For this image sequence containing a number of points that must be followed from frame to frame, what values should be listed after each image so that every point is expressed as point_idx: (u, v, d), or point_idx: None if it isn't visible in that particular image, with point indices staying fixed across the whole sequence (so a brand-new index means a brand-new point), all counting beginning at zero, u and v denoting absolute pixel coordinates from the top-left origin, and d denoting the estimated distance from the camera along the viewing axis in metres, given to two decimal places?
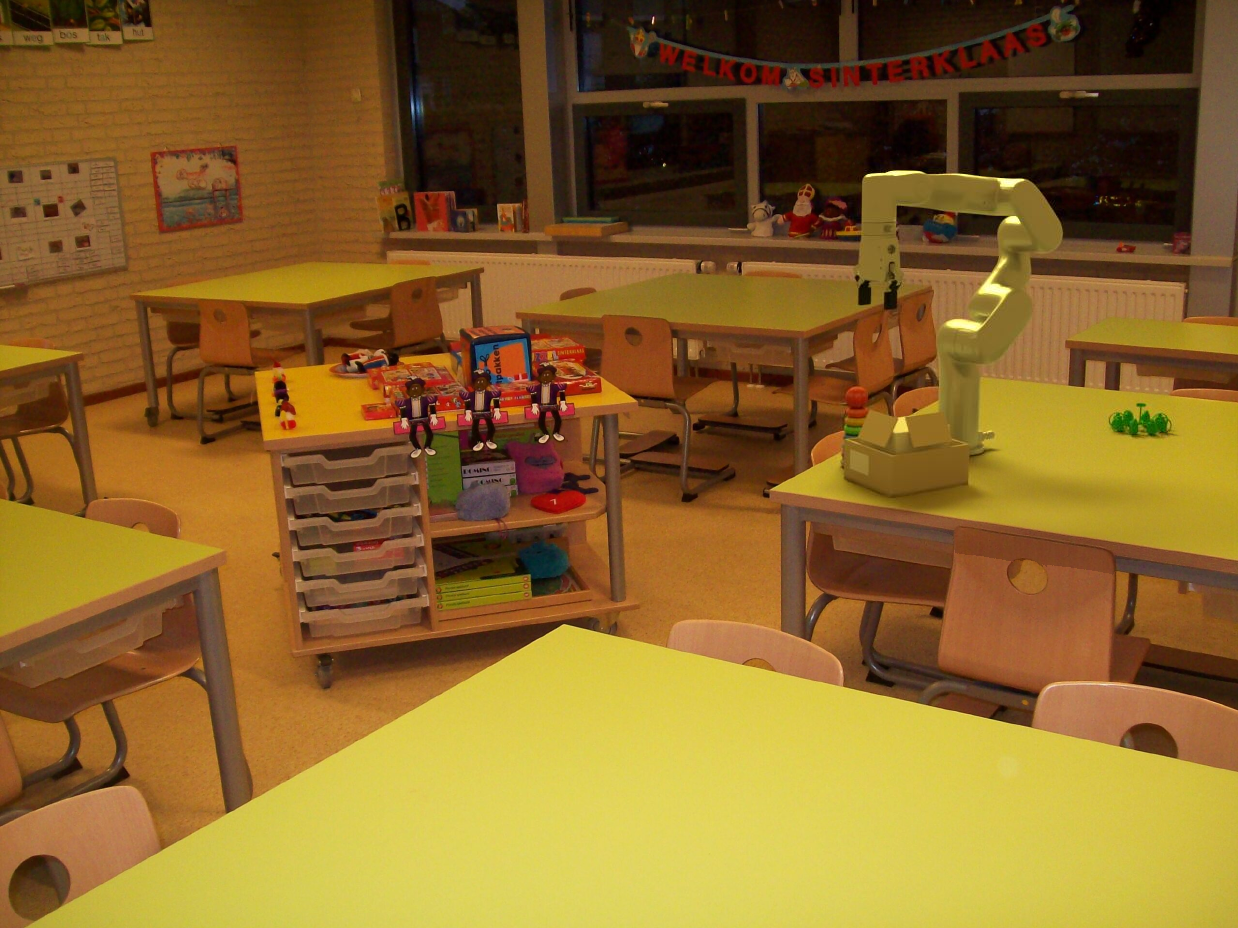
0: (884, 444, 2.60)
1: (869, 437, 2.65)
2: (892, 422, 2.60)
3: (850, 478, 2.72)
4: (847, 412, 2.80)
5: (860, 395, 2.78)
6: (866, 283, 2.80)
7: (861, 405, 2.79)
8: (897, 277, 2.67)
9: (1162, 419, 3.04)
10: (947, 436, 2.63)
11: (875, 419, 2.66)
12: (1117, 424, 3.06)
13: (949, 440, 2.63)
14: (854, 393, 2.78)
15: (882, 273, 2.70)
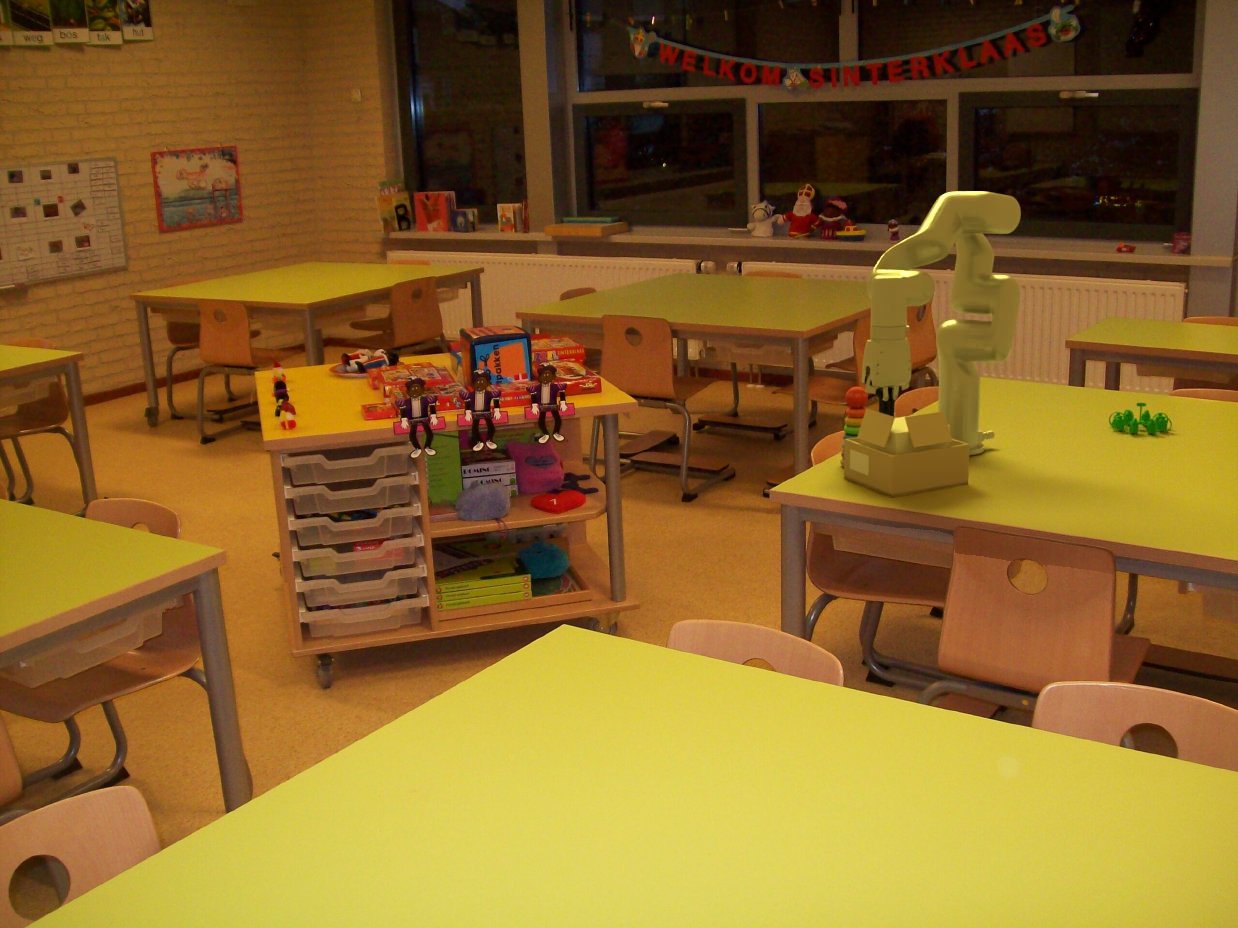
0: (883, 444, 2.60)
1: (868, 437, 2.65)
2: (889, 421, 2.60)
3: (850, 478, 2.72)
4: (847, 412, 2.80)
5: (860, 395, 2.78)
6: None
7: (861, 405, 2.79)
8: (904, 387, 2.64)
9: (1162, 419, 3.04)
10: (947, 436, 2.63)
11: (872, 418, 2.65)
12: (1117, 424, 3.07)
13: (949, 440, 2.63)
14: (854, 393, 2.78)
15: (910, 374, 2.62)
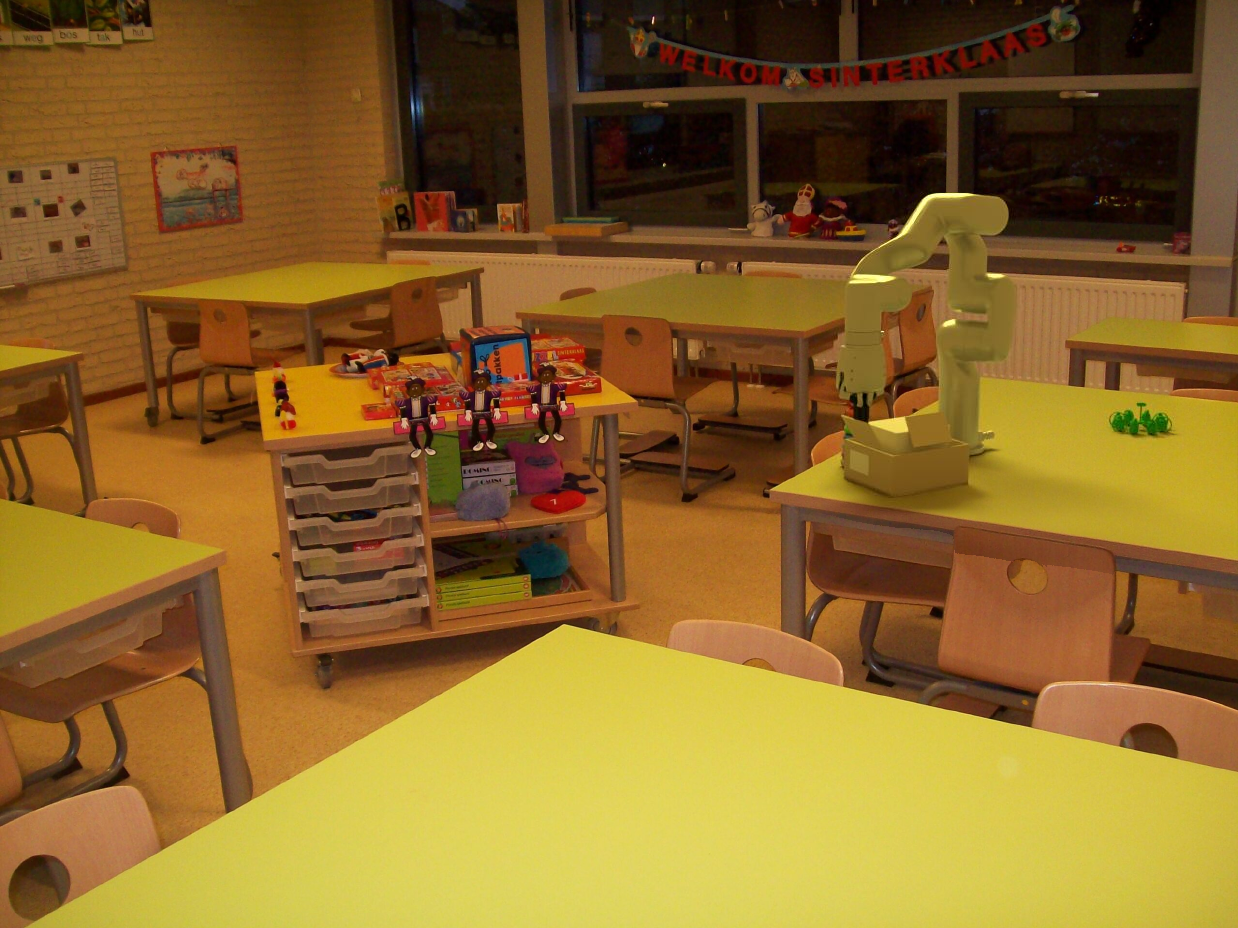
0: (879, 446, 2.60)
1: (863, 439, 2.65)
2: (867, 428, 2.58)
3: (850, 478, 2.72)
4: (847, 412, 2.80)
5: None
6: None
7: None
8: (879, 393, 2.62)
9: (1162, 419, 3.04)
10: (947, 436, 2.63)
11: (852, 424, 2.64)
12: (1117, 424, 3.07)
13: (949, 440, 2.63)
14: None
15: (885, 380, 2.60)
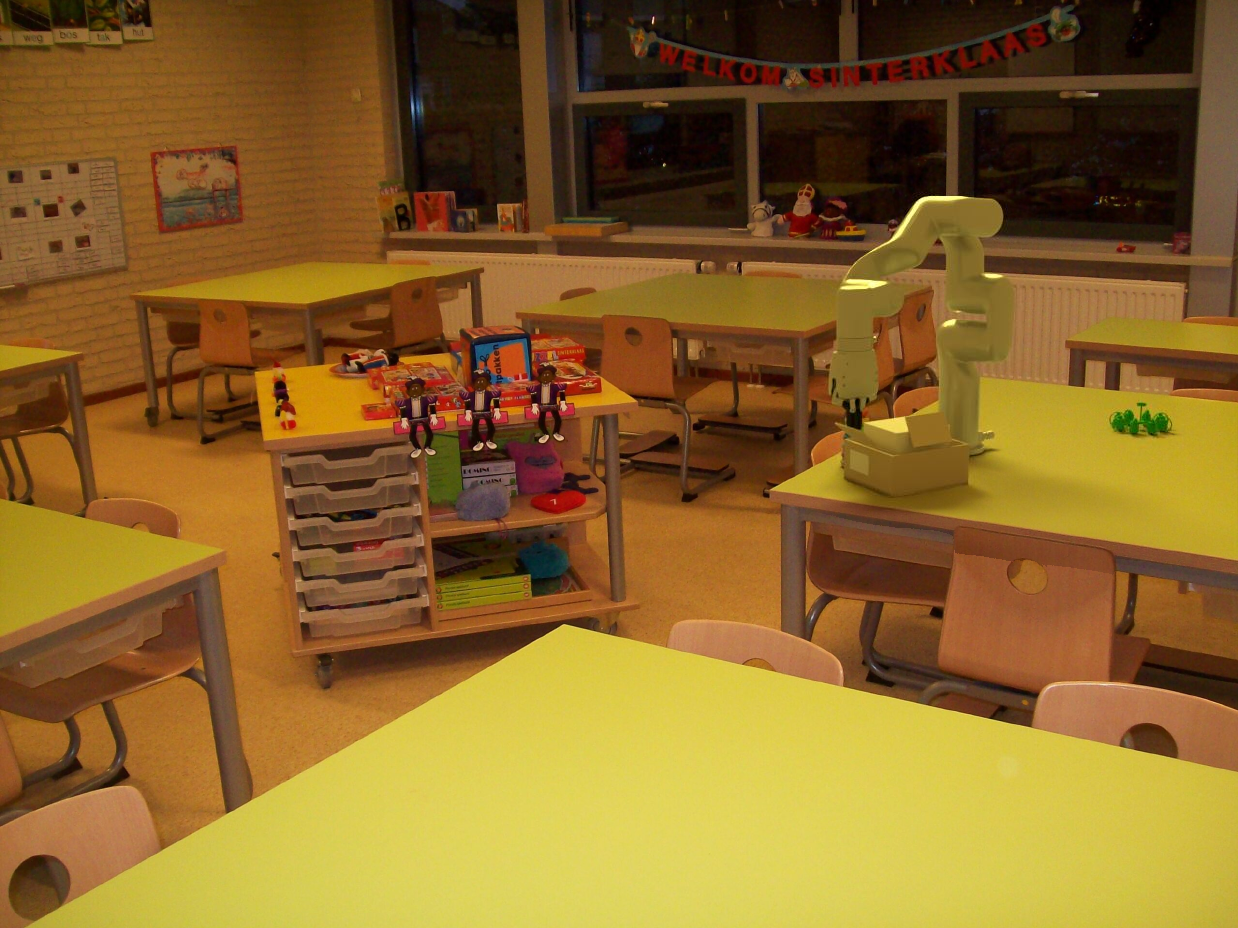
0: (878, 447, 2.60)
1: (862, 441, 2.65)
2: (862, 434, 2.58)
3: (850, 478, 2.72)
4: None
5: None
6: None
7: None
8: (872, 398, 2.61)
9: (1162, 418, 3.04)
10: (947, 436, 2.63)
11: (847, 430, 2.64)
12: (1118, 423, 3.07)
13: (949, 440, 2.63)
14: None
15: (877, 385, 2.59)
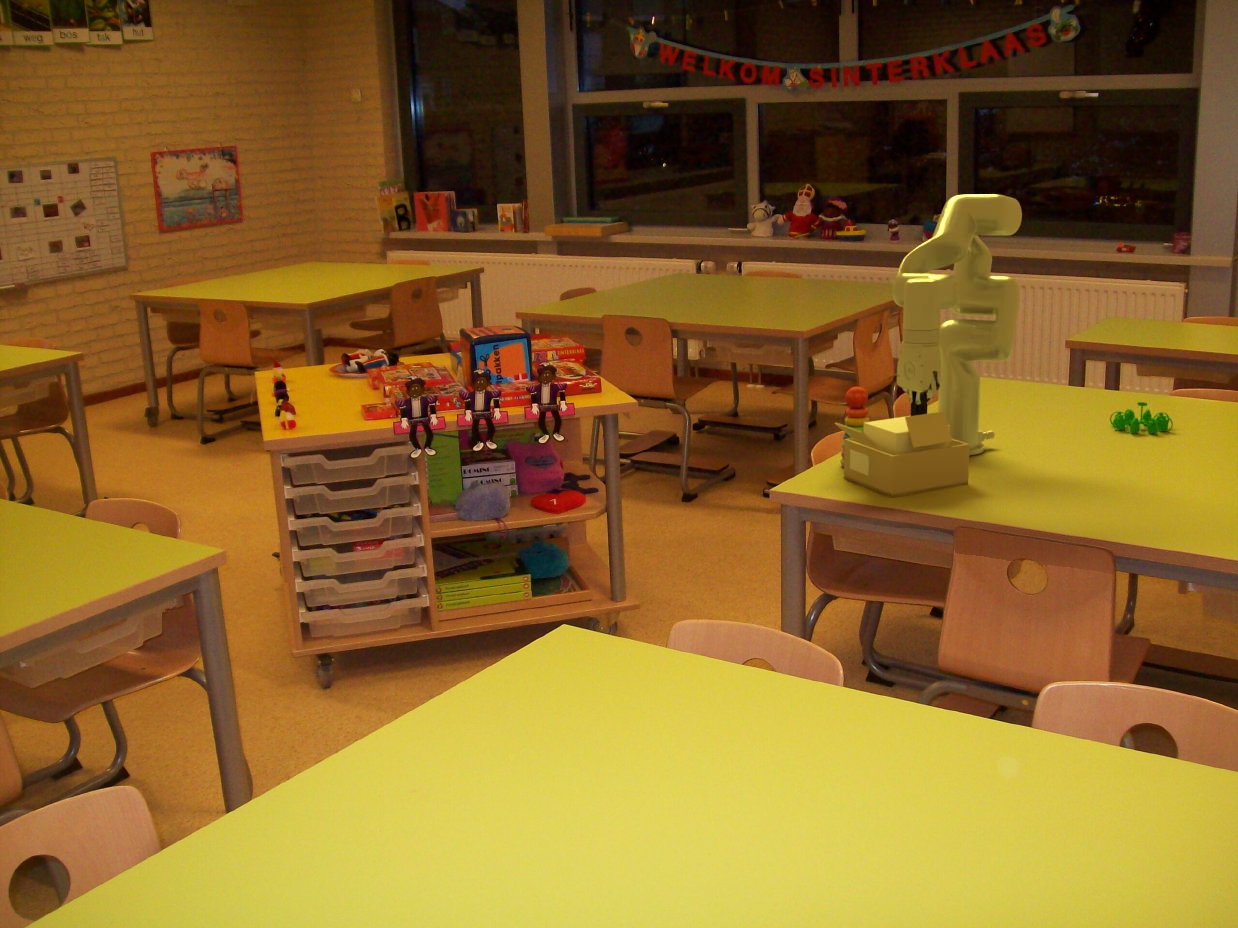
0: (878, 447, 2.60)
1: (862, 441, 2.65)
2: (862, 434, 2.58)
3: (850, 478, 2.72)
4: (847, 412, 2.80)
5: (860, 395, 2.78)
6: None
7: (861, 405, 2.79)
8: None
9: (1163, 418, 3.04)
10: (947, 436, 2.63)
11: (847, 430, 2.64)
12: (1118, 423, 3.07)
13: (949, 440, 2.63)
14: (854, 393, 2.78)
15: None
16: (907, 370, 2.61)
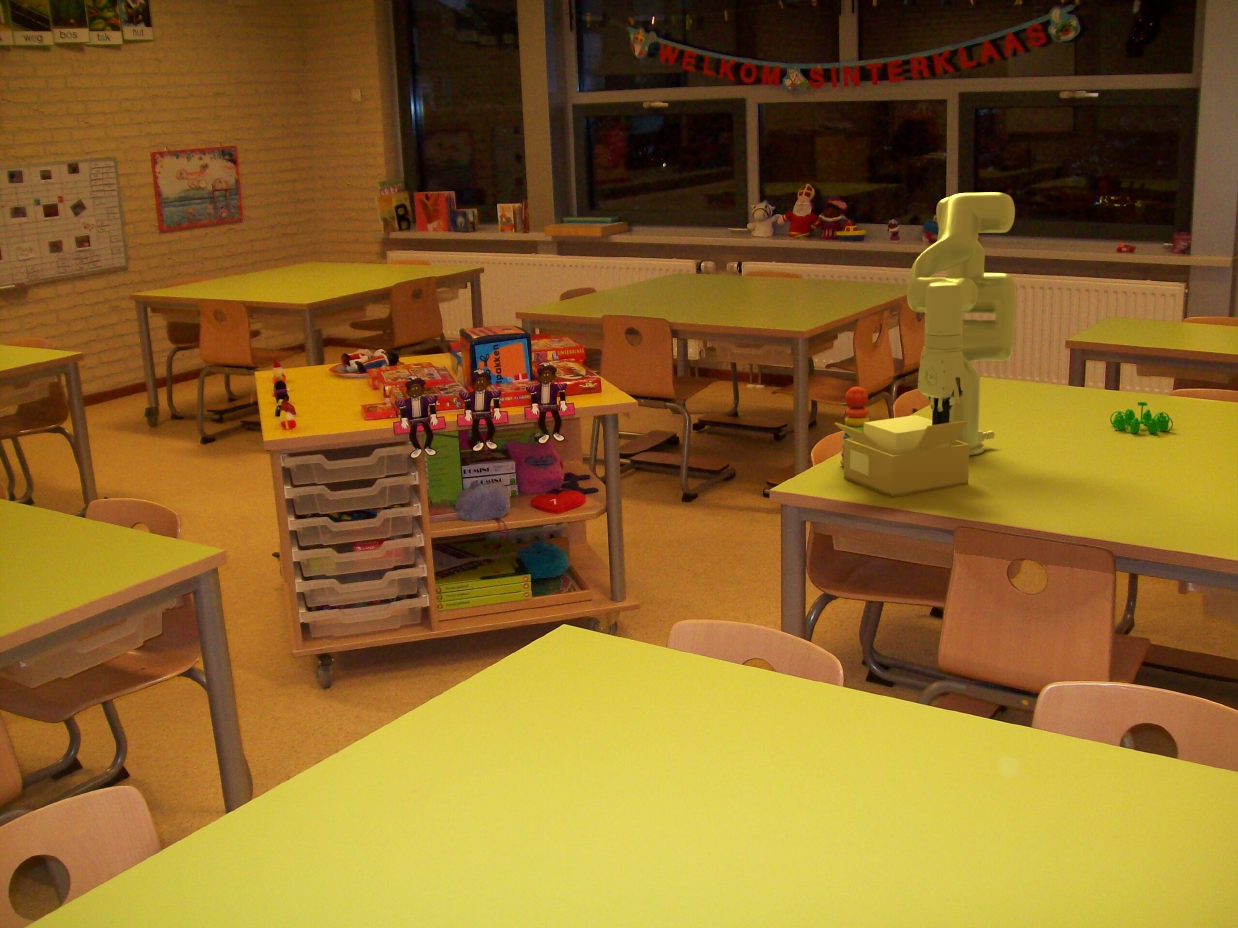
0: (878, 447, 2.60)
1: (862, 441, 2.65)
2: (862, 434, 2.58)
3: (850, 478, 2.72)
4: (847, 412, 2.80)
5: (860, 395, 2.78)
6: None
7: (861, 405, 2.79)
8: None
9: (1163, 418, 3.05)
10: (953, 439, 2.61)
11: (847, 430, 2.64)
12: (1118, 423, 3.07)
13: (952, 442, 2.62)
14: (854, 393, 2.78)
15: None
16: (929, 376, 2.54)
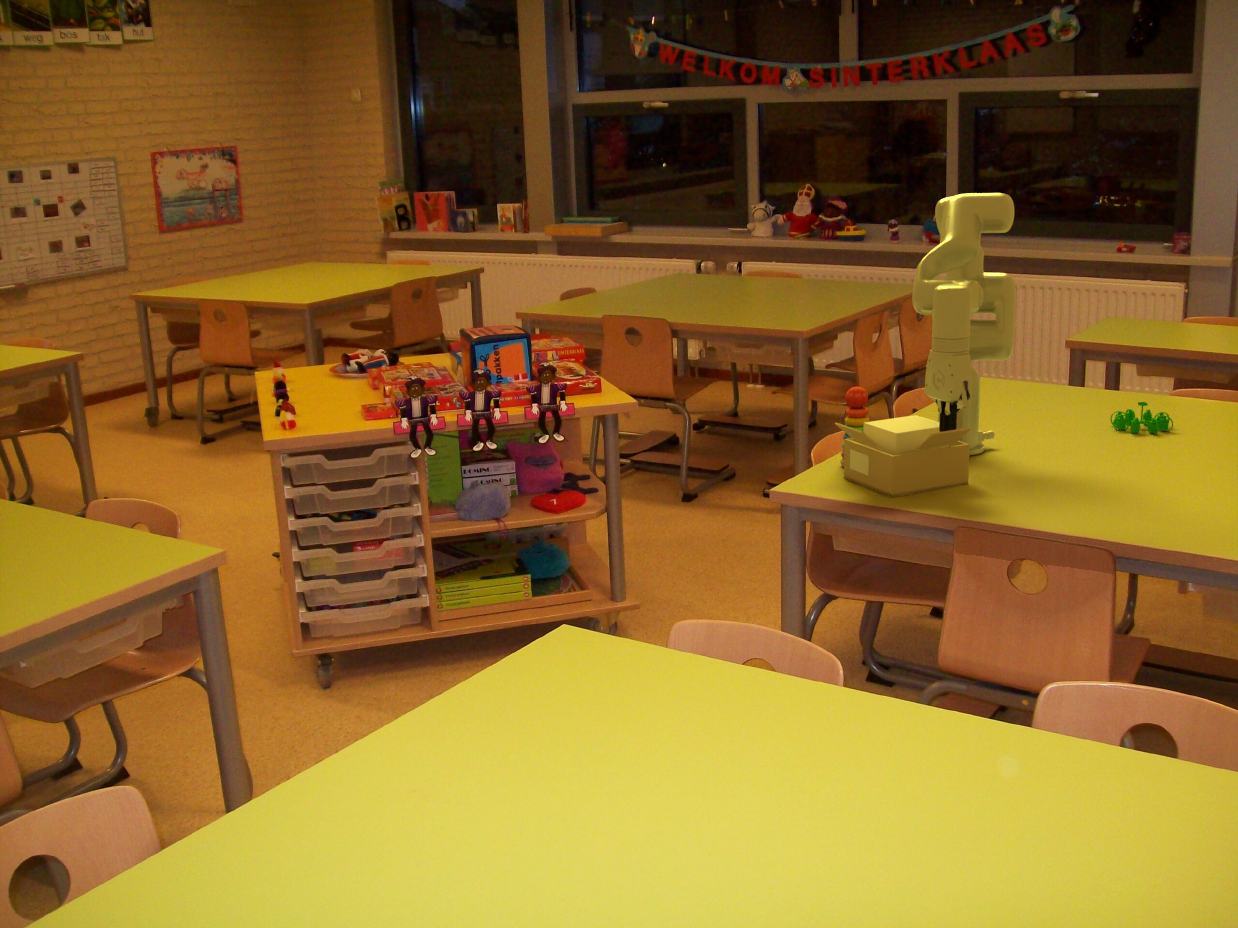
0: (878, 447, 2.60)
1: (862, 441, 2.65)
2: (862, 434, 2.58)
3: (850, 478, 2.72)
4: (847, 412, 2.80)
5: (860, 395, 2.78)
6: None
7: (861, 405, 2.79)
8: None
9: (1163, 418, 3.05)
10: (954, 441, 2.61)
11: (847, 430, 2.64)
12: (1119, 423, 3.07)
13: (952, 443, 2.62)
14: (854, 393, 2.78)
15: None
16: (936, 379, 2.53)
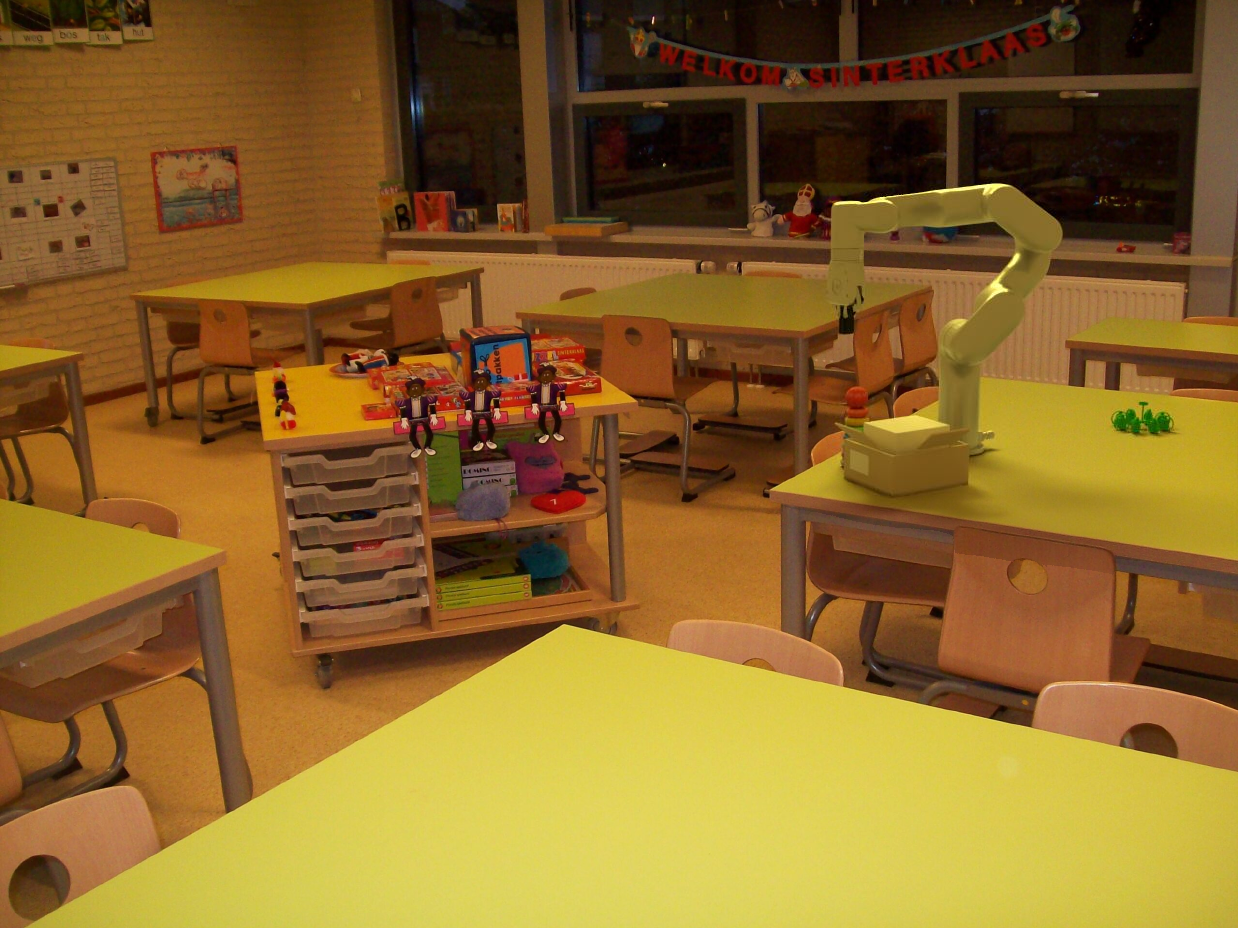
0: (878, 447, 2.60)
1: (862, 441, 2.65)
2: (862, 434, 2.58)
3: (850, 478, 2.72)
4: (847, 412, 2.80)
5: (860, 395, 2.78)
6: None
7: (861, 405, 2.79)
8: None
9: (1164, 418, 3.05)
10: (954, 441, 2.61)
11: (847, 430, 2.64)
12: (1119, 422, 3.08)
13: (952, 443, 2.62)
14: (854, 393, 2.78)
15: None
16: (835, 286, 2.86)
